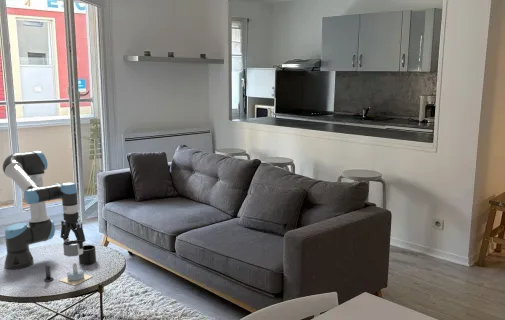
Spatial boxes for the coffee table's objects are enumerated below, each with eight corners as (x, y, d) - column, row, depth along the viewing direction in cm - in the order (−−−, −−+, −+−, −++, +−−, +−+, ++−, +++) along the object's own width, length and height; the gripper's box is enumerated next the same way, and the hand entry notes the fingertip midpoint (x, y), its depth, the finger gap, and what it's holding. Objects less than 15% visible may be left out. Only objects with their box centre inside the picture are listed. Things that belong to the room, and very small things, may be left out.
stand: (41, 280, 259) (40, 266, 258) (49, 277, 263) (48, 263, 262) (47, 282, 257) (46, 268, 255) (55, 279, 261) (54, 265, 259)
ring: (60, 254, 257) (59, 243, 255) (75, 248, 264) (74, 238, 263) (72, 257, 252) (71, 246, 251) (87, 251, 260) (86, 241, 259)
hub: (59, 280, 259) (57, 264, 257) (77, 272, 269) (76, 257, 267) (74, 285, 253) (73, 269, 251) (92, 277, 263) (91, 261, 261)
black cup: (82, 268, 275) (81, 253, 274) (77, 261, 285) (76, 247, 284) (99, 264, 281) (98, 249, 279) (93, 258, 290) (92, 243, 289)
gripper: (50, 211, 257) (54, 251, 260) (79, 216, 246) (82, 258, 249) (62, 207, 263) (65, 246, 267) (91, 213, 252) (93, 254, 256)
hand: (73, 252), depth 258 cm, fingers closed on ring, 9 cm apart
